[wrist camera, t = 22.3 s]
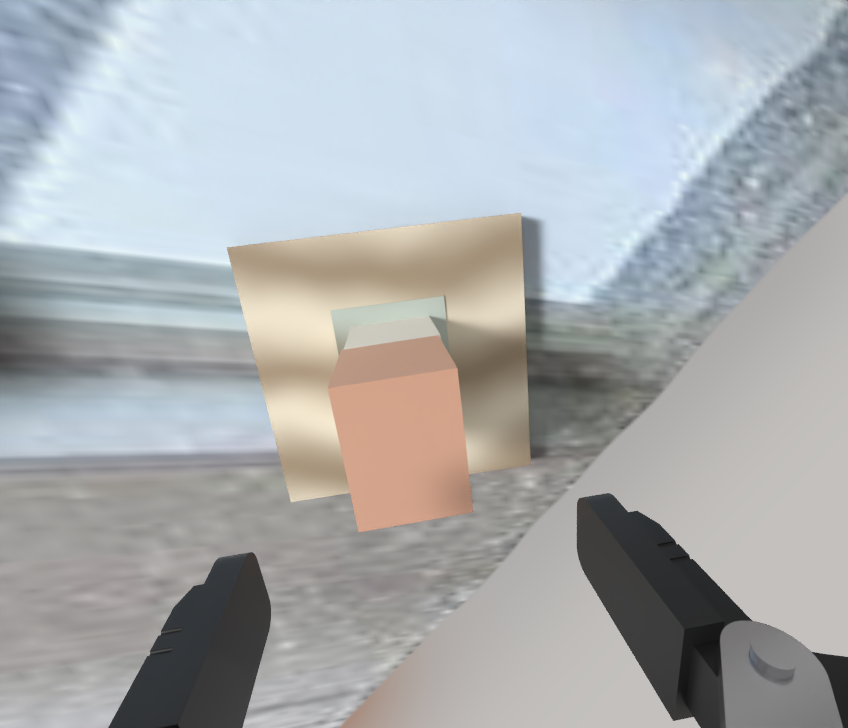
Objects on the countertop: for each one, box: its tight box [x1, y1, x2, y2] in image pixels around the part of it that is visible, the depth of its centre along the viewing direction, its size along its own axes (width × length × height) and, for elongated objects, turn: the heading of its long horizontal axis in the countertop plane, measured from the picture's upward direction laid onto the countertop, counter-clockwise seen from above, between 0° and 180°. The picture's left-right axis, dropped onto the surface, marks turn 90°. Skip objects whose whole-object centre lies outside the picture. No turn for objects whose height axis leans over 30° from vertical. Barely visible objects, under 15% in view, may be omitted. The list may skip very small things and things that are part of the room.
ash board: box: [227, 213, 531, 502], centre depth 25 cm, size 16×16×2 cm
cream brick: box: [344, 316, 441, 349], centre depth 22 cm, size 6×4×5 cm
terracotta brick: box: [328, 335, 473, 532], centre depth 17 cm, size 6×4×5 cm
